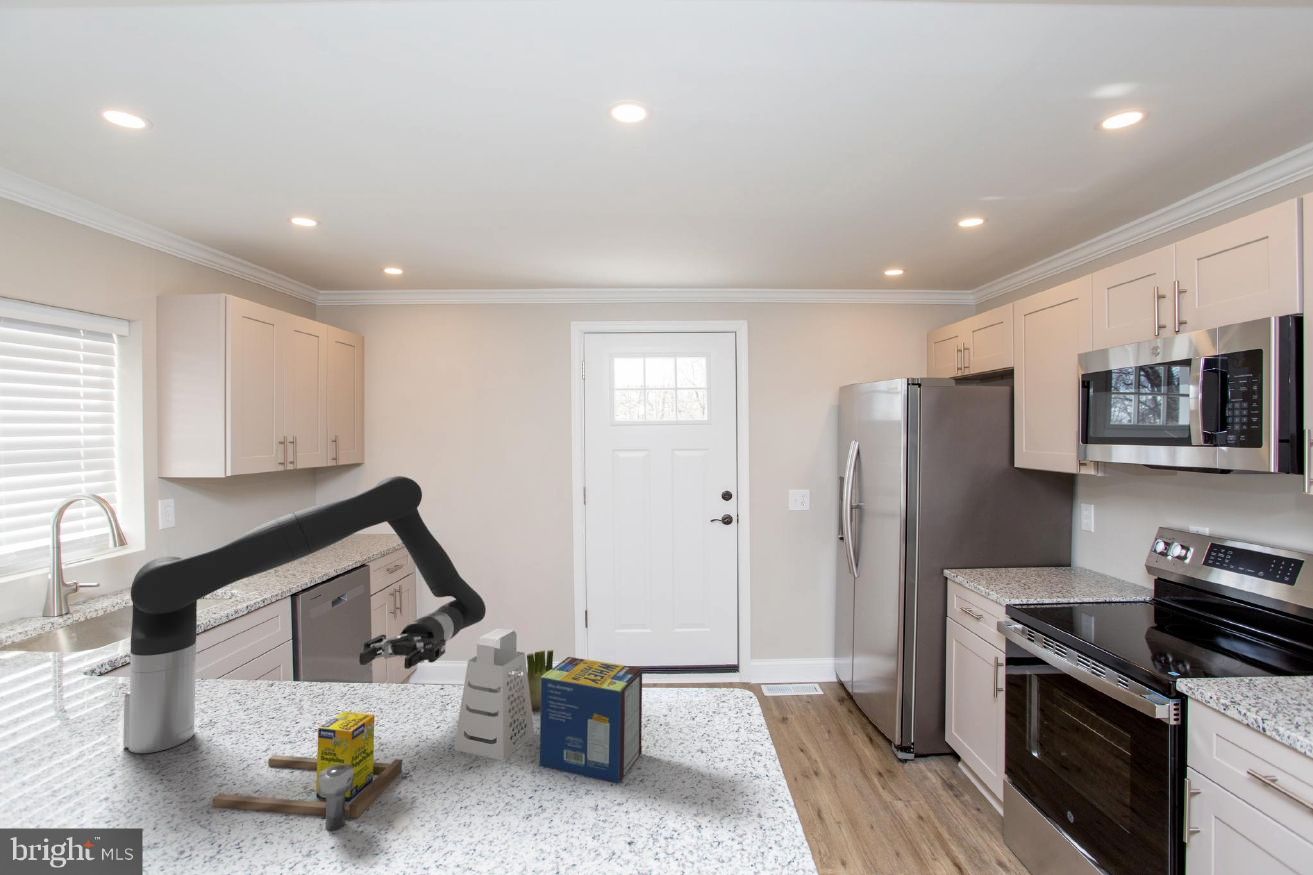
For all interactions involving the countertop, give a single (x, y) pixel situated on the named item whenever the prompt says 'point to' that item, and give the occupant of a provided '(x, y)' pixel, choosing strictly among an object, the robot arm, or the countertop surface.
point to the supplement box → (348, 748)
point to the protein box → (591, 718)
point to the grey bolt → (335, 793)
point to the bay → (313, 803)
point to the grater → (495, 698)
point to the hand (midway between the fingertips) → (384, 661)
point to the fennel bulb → (537, 674)
